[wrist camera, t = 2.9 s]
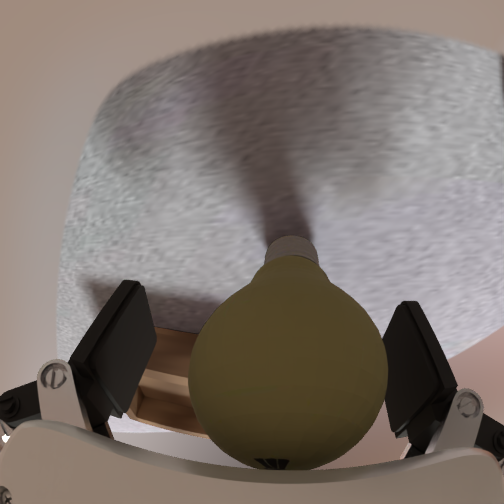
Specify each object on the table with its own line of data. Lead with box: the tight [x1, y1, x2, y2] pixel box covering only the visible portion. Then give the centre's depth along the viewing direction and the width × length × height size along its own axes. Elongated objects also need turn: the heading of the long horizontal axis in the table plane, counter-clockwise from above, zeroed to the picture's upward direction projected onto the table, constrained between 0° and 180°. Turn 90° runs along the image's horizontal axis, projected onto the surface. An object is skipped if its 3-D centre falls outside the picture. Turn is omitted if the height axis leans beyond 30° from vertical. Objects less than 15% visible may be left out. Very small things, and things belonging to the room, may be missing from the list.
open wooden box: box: [126, 327, 210, 439], centre depth 18 cm, size 10×10×4 cm
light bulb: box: [188, 235, 388, 470], centre depth 9 cm, size 6×6×10 cm
